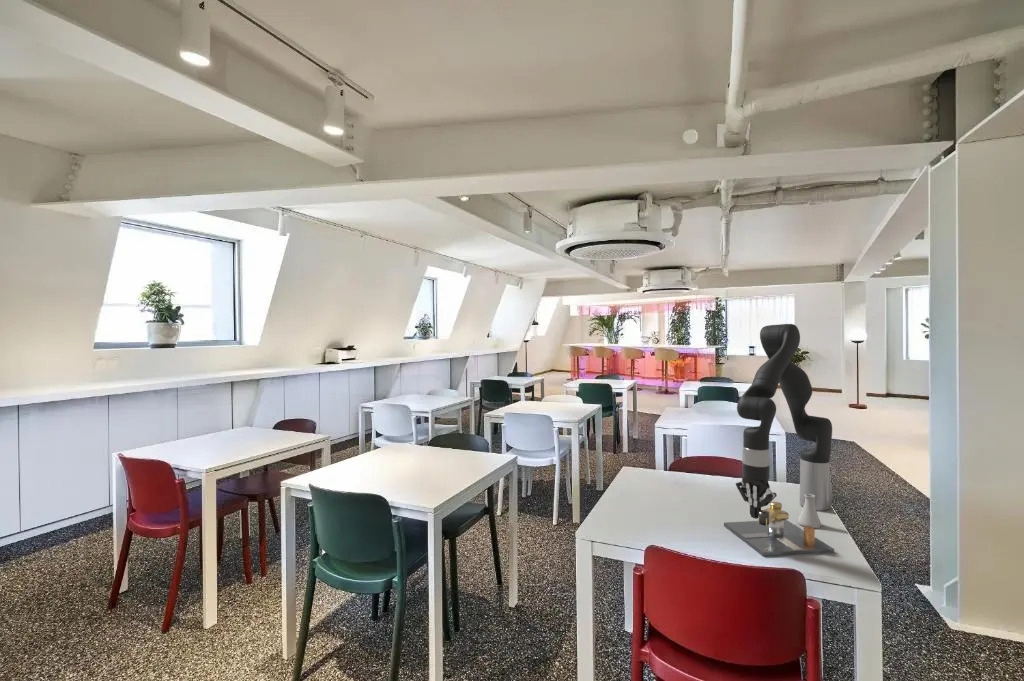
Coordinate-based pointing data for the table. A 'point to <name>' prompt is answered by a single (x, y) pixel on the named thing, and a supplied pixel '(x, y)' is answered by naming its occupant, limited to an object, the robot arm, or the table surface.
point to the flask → (809, 513)
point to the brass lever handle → (772, 514)
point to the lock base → (778, 538)
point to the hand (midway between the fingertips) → (755, 517)
